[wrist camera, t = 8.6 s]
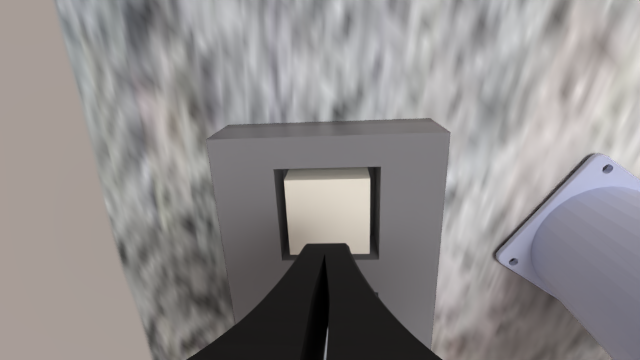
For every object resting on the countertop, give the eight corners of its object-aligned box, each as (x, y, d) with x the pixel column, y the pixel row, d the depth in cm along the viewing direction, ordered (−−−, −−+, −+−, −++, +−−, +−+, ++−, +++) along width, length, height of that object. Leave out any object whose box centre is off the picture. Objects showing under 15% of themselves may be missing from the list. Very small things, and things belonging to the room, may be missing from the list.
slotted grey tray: (228, 125, 19) (205, 139, 16) (430, 118, 18) (450, 132, 15) (266, 406, 26) (256, 456, 23) (410, 409, 26) (420, 460, 23)
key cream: (290, 164, 18) (284, 180, 16) (365, 162, 18) (370, 178, 16) (295, 230, 20) (290, 254, 17) (365, 229, 19) (369, 253, 17)
